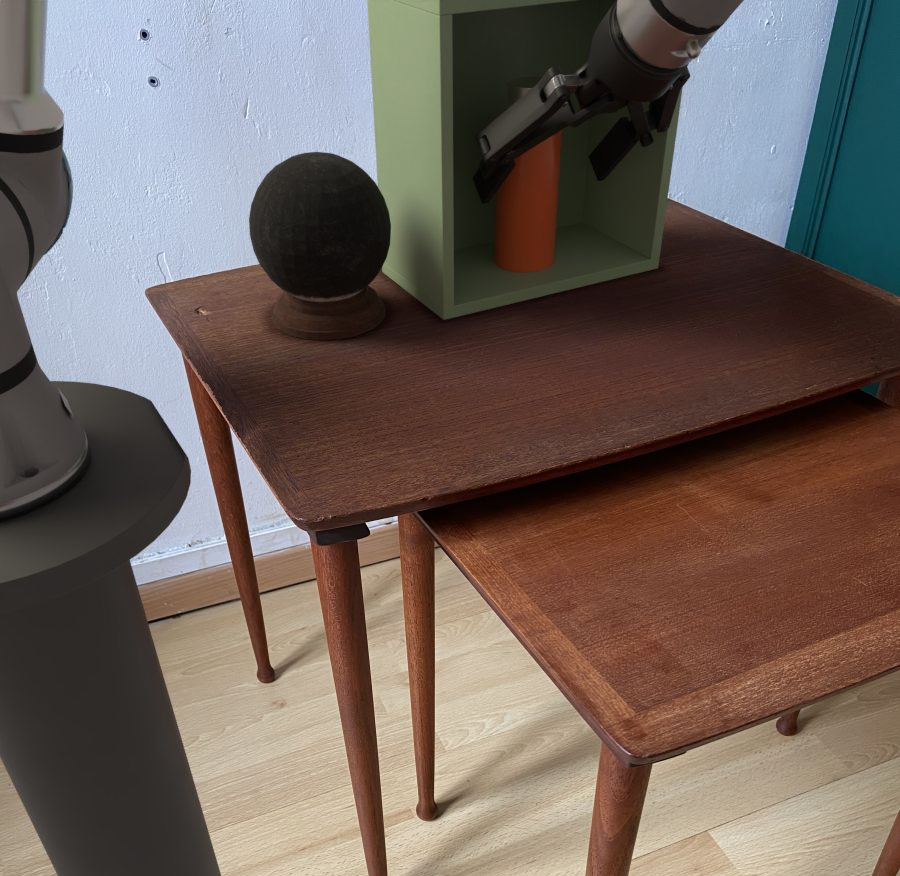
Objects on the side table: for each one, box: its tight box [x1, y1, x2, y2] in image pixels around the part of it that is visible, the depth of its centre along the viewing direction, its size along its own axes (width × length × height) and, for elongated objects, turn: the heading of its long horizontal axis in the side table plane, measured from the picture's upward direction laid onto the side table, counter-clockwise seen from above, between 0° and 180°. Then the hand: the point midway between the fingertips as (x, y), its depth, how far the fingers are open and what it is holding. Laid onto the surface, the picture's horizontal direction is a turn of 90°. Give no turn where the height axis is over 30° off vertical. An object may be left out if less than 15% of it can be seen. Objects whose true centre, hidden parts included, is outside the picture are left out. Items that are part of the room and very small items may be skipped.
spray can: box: [494, 77, 562, 272], centre depth 96 cm, size 6×6×17 cm
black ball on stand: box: [248, 151, 391, 341], centre depth 90 cm, size 13×13×15 cm
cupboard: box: [366, 0, 684, 321], centre depth 94 cm, size 14×26×27 cm, turn 119°
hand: (539, 179), depth 94 cm, fingers open, 13 cm apart
